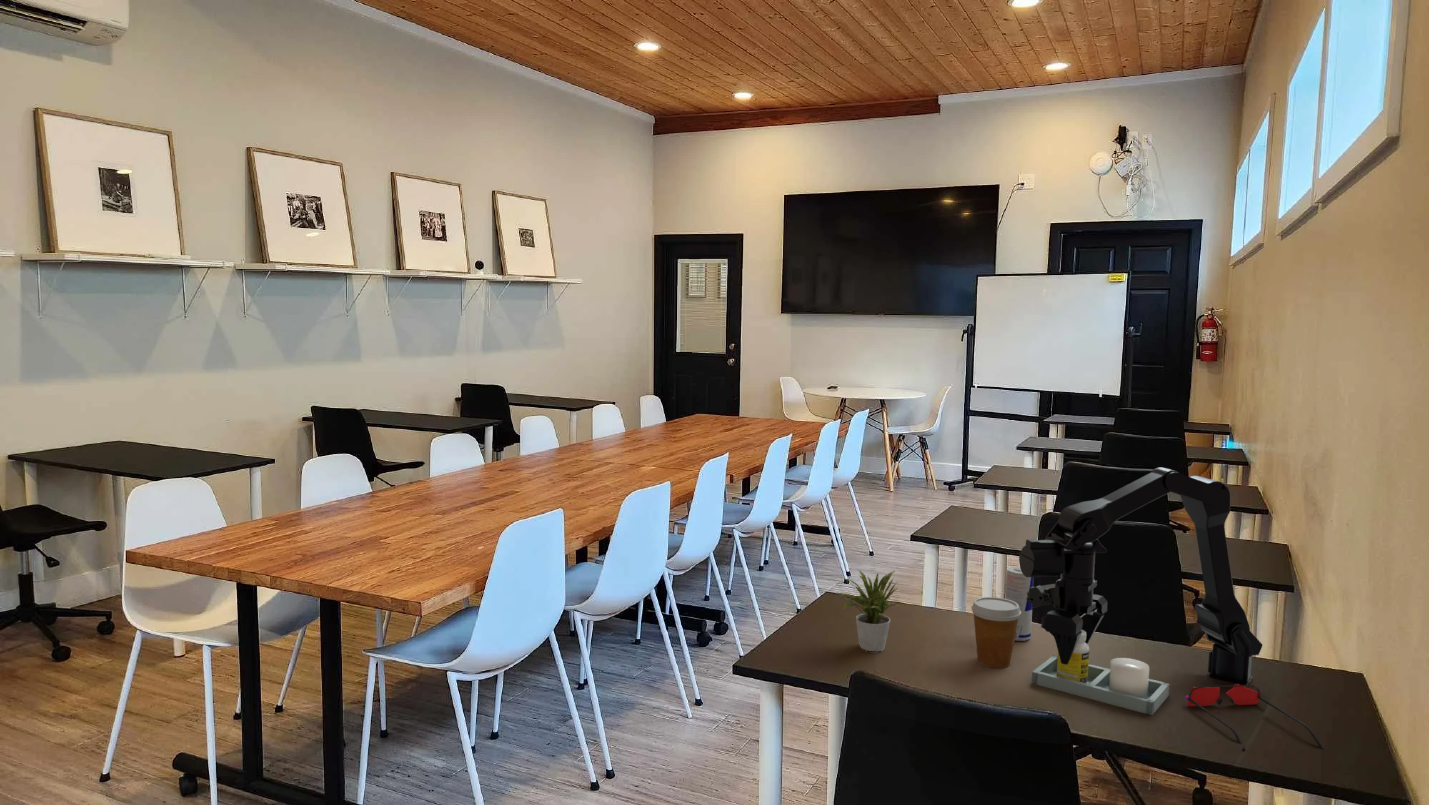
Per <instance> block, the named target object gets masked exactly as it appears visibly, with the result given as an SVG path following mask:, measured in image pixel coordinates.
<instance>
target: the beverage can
mask: <svg viewBox="0 0 1429 805" xmlns="http://www.w3.org/2000/svg"><path fill="white" fill-rule="evenodd" d="M1034 578H1035V577H1025V576H1024V575H1023V573H1022V571H1021V569H1020V566H1009V567H1007V568H1006V572H1005V591H1004V592H1005V593H1004V599H1008V600H1011V601H1014V602H1016V603H1017V604H1018V605H1019V609H1020V611H1021V615H1020V617H1019V618H1018V623H1017V629H1016V634H1015V640H1014V642H1016V641H1017V642H1026V641H1029V639H1031V638H1032V621H1033V620H1032V619H1033V618H1032V617H1033V608H1032V605H1031V603H1030V602H1028V601H1027V600H1026V598H1027V592H1028V591H1029V588H1031V587H1032V586H1034V582H1035V581H1034Z"/></svg>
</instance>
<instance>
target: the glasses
mask: <svg viewBox="0 0 1429 805" xmlns="http://www.w3.org/2000/svg"><path fill="white" fill-rule="evenodd" d="M1233 684H1234V685H1213V684H1211V685H1207V686H1206V685H1204V686H1203V685H1202V686H1192V687H1191V691H1190V693H1189V695H1185V696H1184V699H1185V700H1187V701H1188V702H1187V705H1188V706H1189V707H1198V708H1199V709H1201V710H1202V711H1204V712H1205V713H1206V714H1208V715H1209V716H1211V718H1213V719H1216V720H1217V721H1218V722H1220V723H1221V724H1222V725H1224V726H1225V727H1226V728H1228V729H1229V730H1230V731H1231V732H1232V733H1233V735H1234V737H1235V739H1236V741H1237V742H1238V744H1240V745H1243V742H1242V739H1241V737H1240V735H1239V734H1238V732H1237V730H1235V729H1234V727H1232V726H1231V725H1229V724H1228V723H1226V722H1225V721H1223V720H1222V719H1221V718H1219V716H1217V715H1215V714H1214V713H1212V712H1211V711H1209V710H1208V709H1206V708H1205V707H1208V706H1210V705H1213V704H1217V705H1218V706H1221V704H1222V702H1223V698H1221V697H1220V692H1221V688H1224V687H1225V688H1230V689H1228V691H1227V692H1225V694H1227V696H1228V697H1229V702H1230V703H1231V704H1232V705H1234V702H1235V704H1236V705H1237V706H1244V705H1256V704H1258V703H1259V702H1260V700H1261V702H1262V701H1263V702H1264V703H1266V704H1267V705H1269V706H1270V707H1272V708H1274V709H1275V710H1277V711H1278V712H1280V713H1282V714H1284V715H1285V716H1287V717H1288V718H1290V719H1292V720H1293V721H1294V722H1297V723H1299V724H1300V725H1301V726H1303V727H1304V728H1305V729H1307V730H1306V731H1308V732H1309V734H1310V735H1311V737H1312V738H1313V740H1314V741H1315V743H1316V745H1317V746H1318V747H1319V749H1321V750H1325V747H1324V746H1323V744H1322V743H1321V741H1320V740H1319V739H1318V737H1317V735H1316V734H1315V733H1314V731H1313V730H1312V729H1311V728H1310V727H1309V726H1308V725H1307V724H1306V723H1304V722H1302V721H1300V720H1299V719H1297V718H1296V717H1295V716H1292V715H1291V714H1289V713H1288V712H1286V711H1285V710H1283V709H1281V708H1279V707H1278V706H1276V705H1275V704H1273V703H1271V702H1269V701H1268V700H1266V699H1265V698H1263V697H1261V692H1260V689H1259V688H1258V687H1257V686H1255V685H1252V684H1248V685H1240V684H1235V683H1233ZM1231 687H1232V688H1231ZM1249 687H1252V688H1255V689H1256V690H1257V691H1256V690H1254V689H1252V688H1249ZM1241 751H1242V752H1244V751H1246V752H1247V750H1246V748H1245V746H1243V748H1242V750H1241Z"/></svg>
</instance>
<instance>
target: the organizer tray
mask: <svg viewBox="0 0 1429 805" xmlns="http://www.w3.org/2000/svg"><path fill="white" fill-rule="evenodd" d="M1057 662H1058V655H1052V656H1051V657H1050V658H1048V659H1047V660H1045V661H1044V662H1043V663H1042V664H1041V665H1039V666H1038V667H1037V668H1035V669H1034V670H1032V671H1031V672H1032V673H1031V685H1036V686H1039V687H1044V688H1048V689H1050V690H1056V691H1059V692H1062V693H1066V694H1070V695H1073V696H1078V697H1080V698H1081V697H1082V698H1084V699H1089V700H1093V701H1096V702H1099V703H1100V702H1101V703H1102V704H1107V705H1111V706H1115V707H1119V708H1123V709H1127V710H1130V711H1135V712H1138V713H1142V714H1145V715H1149V716H1153V715H1154V714H1155V713H1156V711H1158V709H1159V708H1160V707H1161V706H1162V704H1163V703H1164V702H1165V701H1166V700H1167V699H1168V697H1169V696H1170V683H1167V682H1165V681H1164V682H1163V681H1160V680H1155V679H1152V678H1149V683H1148V699H1145V698H1141V697H1137V696H1133V695H1129V694H1125V693H1121V692H1117V691H1113V690H1109V680H1110V668H1107V667H1101V666H1100V665H1099V666H1098V665H1095V664H1090V663H1088V677H1087V684H1086V683H1082V682H1078V681H1074V680H1071V679H1067V678H1063V677H1059V676H1057Z"/></svg>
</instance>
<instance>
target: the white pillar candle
mask: <svg viewBox="0 0 1429 805" xmlns="http://www.w3.org/2000/svg"><path fill="white" fill-rule="evenodd" d="M1109 664H1110V665H1109V666H1110V667H1109V669H1110V680H1109V690H1113V691H1117V692H1121V693H1125V694H1129V695H1133V696H1137V697H1141V698H1145V699H1148V683H1149V679H1150V666H1149V664H1147V663H1146V662H1143V661H1141V660H1138V659H1134V658H1129V657H1116V658H1115V657H1114V658H1113V659H1110V663H1109Z"/></svg>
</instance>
